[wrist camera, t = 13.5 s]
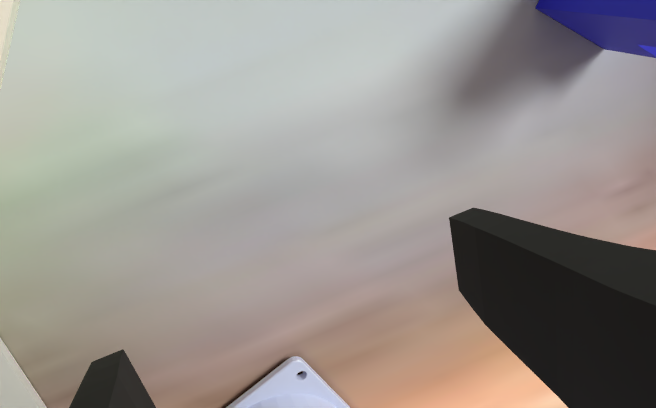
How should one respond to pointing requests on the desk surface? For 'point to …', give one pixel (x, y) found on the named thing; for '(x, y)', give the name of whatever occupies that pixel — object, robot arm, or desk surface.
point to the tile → (6, 30)
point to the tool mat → (15, 384)
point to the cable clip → (609, 22)
